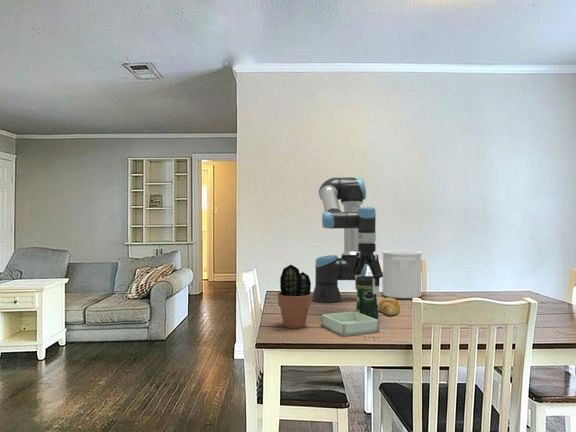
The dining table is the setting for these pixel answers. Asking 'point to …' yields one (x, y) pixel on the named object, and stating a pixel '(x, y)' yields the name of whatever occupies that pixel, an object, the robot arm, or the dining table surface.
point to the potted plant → (294, 297)
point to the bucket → (402, 274)
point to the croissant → (389, 306)
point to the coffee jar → (366, 297)
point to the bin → (349, 323)
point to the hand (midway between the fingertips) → (366, 291)
